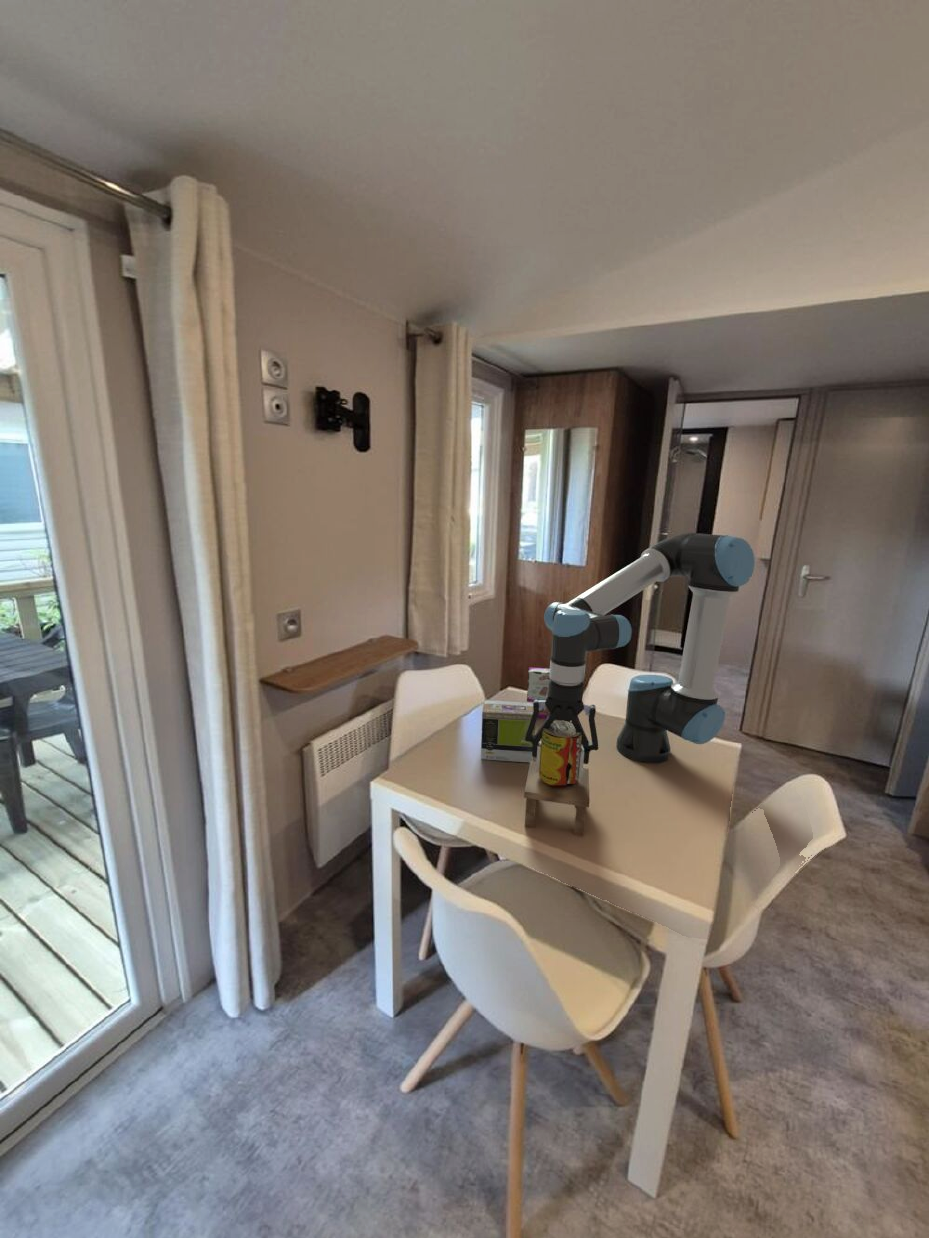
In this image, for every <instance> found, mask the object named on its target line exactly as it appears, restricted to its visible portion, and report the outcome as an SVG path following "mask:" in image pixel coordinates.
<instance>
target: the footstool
mask: <svg viewBox="0 0 929 1238" xmlns="http://www.w3.org/2000/svg"><path fill="white" fill-rule="evenodd" d="M528 767H529V768H528V772H527V777H526V782H525V788H524V796H523V797H524V798H526V799H525V800H526V803H525V818H524V827H527V828H533V829H534V826H535V817H536V805H537V801H545V802H550V803H557V804H564V805H569V806H570V805H571V806H574V807H575V808H576V809H575V818H574V819H575V821H574V828H573V829H574V830H573V831H574V832H573V833H574V835H576V836H581V837H584V836H585V835H584V834H585V828H586V827H585V824H586V814H587V808H590V777H589V776H590V775H589V773H590V772H589V771H590V769H589V768H585V767H583V772H582V779H581V778H578V782H577V783H576V784H575V785H572V786H569V787H557V786H553V785H549V784H547V783H545V782H544V781H542V780H541V778H540V777H539V773H538V772H536V760H535V761H530V763H529V766H528Z"/></svg>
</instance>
